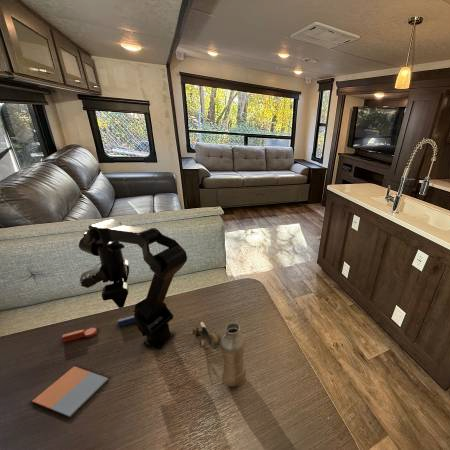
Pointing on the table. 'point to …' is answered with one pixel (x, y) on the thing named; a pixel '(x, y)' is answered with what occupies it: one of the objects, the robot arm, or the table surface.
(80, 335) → the terracotta spoon
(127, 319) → the blue spoon
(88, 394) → the mat
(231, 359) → the plastic bottle
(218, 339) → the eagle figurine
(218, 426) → the table surface
